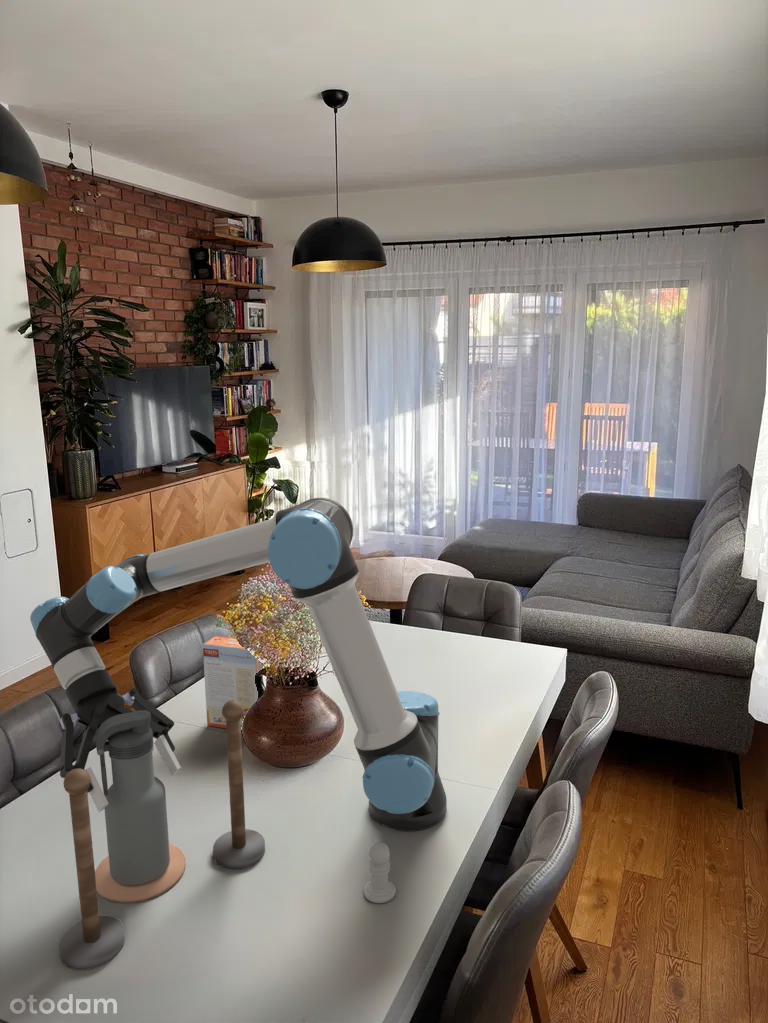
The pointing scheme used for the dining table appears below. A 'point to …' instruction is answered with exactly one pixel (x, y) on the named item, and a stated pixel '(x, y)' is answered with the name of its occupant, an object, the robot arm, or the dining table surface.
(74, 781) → the walnut post
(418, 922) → the dining table surface
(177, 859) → the glossy peach dome
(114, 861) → the water bottle
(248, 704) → the cracker box
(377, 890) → the chess piece
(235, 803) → the walnut post
